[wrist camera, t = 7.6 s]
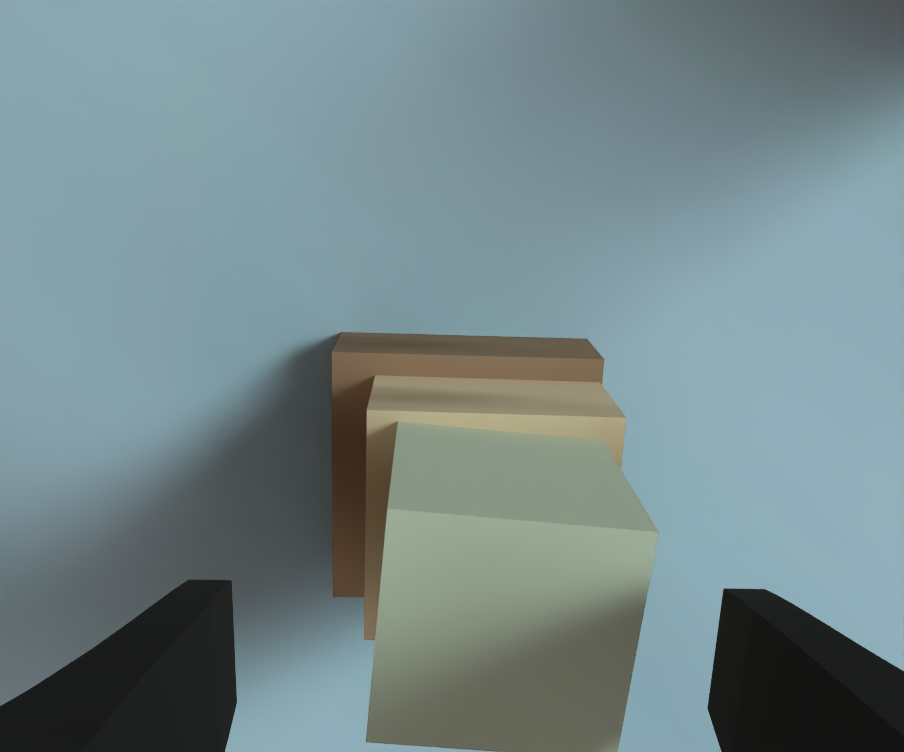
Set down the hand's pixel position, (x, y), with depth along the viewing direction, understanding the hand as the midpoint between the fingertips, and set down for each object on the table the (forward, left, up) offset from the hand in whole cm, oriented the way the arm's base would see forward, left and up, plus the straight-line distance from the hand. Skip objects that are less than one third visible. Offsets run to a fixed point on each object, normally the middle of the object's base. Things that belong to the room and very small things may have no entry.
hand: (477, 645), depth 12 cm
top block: (0, 0, -5) cm, 5 cm away
